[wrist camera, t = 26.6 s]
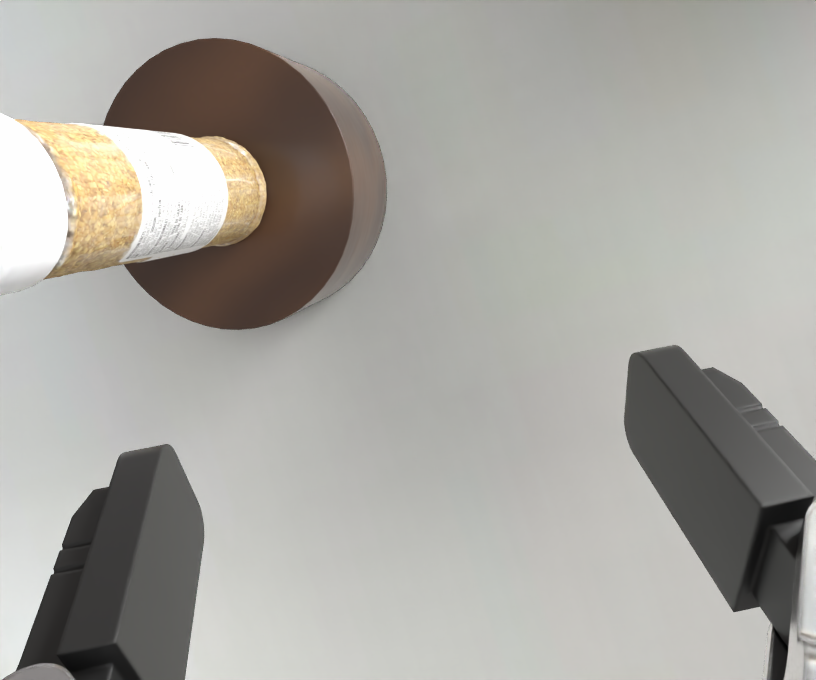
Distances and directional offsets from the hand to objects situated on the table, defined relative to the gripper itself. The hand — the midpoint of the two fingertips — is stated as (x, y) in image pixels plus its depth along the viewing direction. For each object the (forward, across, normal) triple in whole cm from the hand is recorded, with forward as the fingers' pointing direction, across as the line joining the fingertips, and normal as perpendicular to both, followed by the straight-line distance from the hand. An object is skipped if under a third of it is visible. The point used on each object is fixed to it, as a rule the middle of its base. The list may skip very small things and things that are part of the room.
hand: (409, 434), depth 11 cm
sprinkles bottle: (+19, +5, +2) cm, 20 cm away
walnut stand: (+23, +4, +3) cm, 24 cm away
